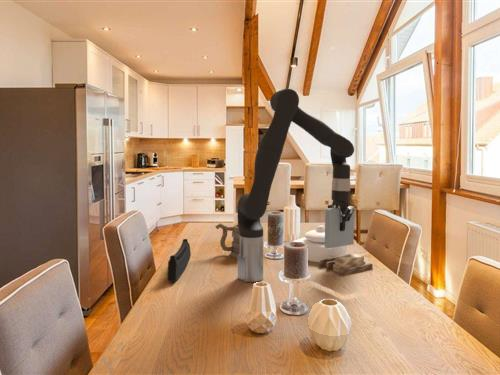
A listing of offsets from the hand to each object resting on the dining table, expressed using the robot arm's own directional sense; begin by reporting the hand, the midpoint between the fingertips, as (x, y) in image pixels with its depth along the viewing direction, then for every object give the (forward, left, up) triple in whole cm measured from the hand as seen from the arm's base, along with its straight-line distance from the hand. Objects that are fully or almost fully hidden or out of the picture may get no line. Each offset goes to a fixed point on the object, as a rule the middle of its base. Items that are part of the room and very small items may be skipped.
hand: (339, 230), depth 176 cm
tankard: (-26, +41, -17) cm, 52 cm away
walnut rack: (0, -4, -17) cm, 17 cm away
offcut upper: (0, -6, -13) cm, 14 cm away
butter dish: (+2, +15, -17) cm, 23 cm away
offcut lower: (0, -6, -15) cm, 16 cm away
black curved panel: (-59, +31, -17) cm, 68 cm away
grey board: (0, 0, -7) cm, 7 cm away
